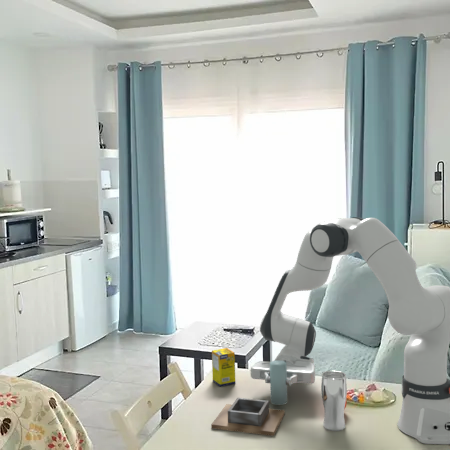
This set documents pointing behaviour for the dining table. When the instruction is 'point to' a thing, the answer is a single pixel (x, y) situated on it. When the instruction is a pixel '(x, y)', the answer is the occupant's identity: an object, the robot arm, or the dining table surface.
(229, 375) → the supplement box
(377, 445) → the dining table surface
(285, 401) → the teal cylinder
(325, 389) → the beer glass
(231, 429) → the cup bracket
